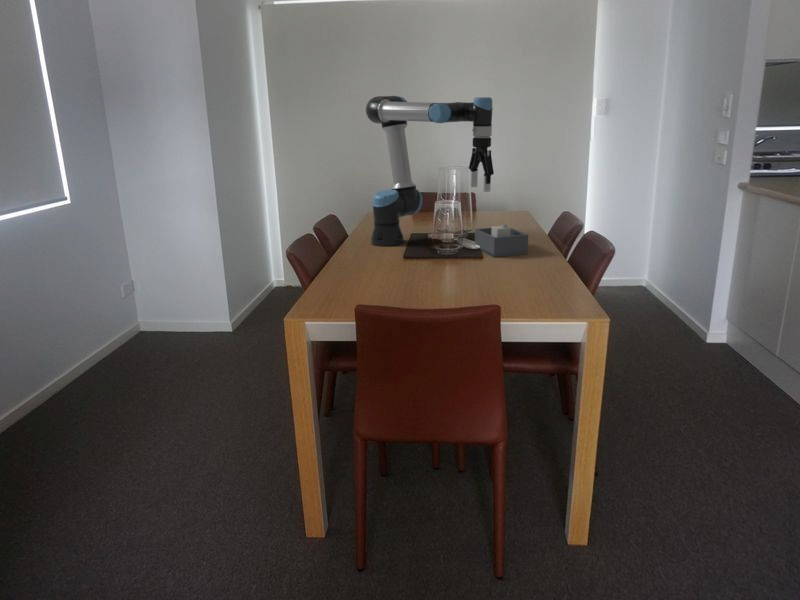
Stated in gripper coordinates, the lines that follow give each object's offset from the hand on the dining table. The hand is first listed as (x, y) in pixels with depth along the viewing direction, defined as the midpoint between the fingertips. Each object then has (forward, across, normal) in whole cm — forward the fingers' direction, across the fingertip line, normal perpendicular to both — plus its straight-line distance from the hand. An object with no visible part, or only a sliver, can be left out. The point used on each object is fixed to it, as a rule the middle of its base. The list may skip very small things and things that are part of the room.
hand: (480, 189), depth 252 cm
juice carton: (+24, +9, +6) cm, 26 cm away
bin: (+25, +9, +6) cm, 27 cm away
